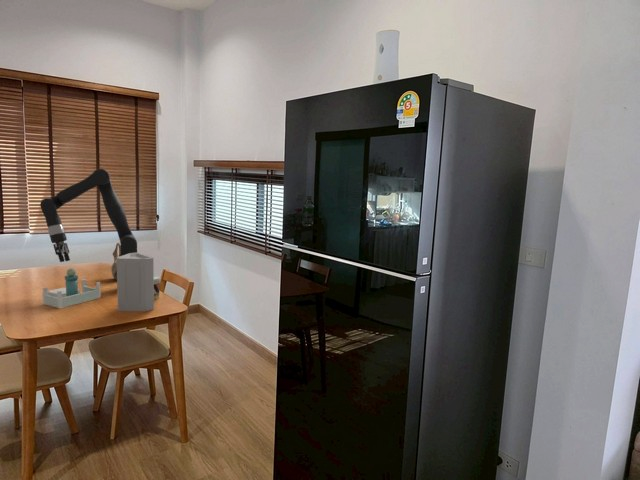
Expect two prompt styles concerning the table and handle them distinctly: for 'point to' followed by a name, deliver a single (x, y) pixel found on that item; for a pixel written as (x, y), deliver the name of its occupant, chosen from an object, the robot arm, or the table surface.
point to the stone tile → (54, 292)
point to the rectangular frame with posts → (72, 296)
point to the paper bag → (135, 282)
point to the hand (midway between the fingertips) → (65, 261)
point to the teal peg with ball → (71, 282)
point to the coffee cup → (156, 287)
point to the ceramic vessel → (115, 261)
